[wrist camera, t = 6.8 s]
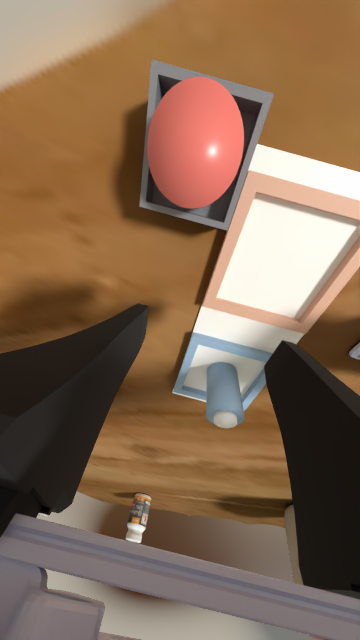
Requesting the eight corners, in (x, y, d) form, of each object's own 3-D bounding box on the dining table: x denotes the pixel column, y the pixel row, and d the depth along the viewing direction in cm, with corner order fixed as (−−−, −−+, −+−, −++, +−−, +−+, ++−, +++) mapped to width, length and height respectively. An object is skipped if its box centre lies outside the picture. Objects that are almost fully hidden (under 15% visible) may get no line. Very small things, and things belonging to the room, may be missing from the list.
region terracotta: (392, 212, 13) (402, 212, 12) (302, 329, 19) (305, 334, 18) (247, 171, 13) (249, 169, 12) (202, 302, 19) (202, 306, 18)
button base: (260, 118, 12) (274, 93, 9) (224, 226, 15) (227, 230, 13) (164, 91, 11) (151, 59, 9) (151, 206, 15) (139, 206, 12)
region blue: (282, 355, 21) (284, 360, 21) (243, 405, 27) (244, 410, 27) (192, 331, 21) (192, 335, 20) (174, 387, 27) (173, 391, 27)
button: (253, 112, 10) (262, 93, 8) (221, 216, 12) (223, 218, 11) (163, 87, 10) (154, 62, 8) (151, 197, 12) (142, 196, 11)
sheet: (417, 189, 12) (419, 188, 12) (242, 410, 28) (242, 411, 28) (256, 144, 12) (256, 143, 12) (172, 392, 28) (172, 393, 28)
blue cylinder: (239, 363, 23) (248, 413, 17) (234, 383, 25) (242, 434, 19) (207, 360, 23) (207, 408, 18) (206, 381, 25) (205, 429, 20)
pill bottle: (143, 492, 59) (133, 538, 51) (154, 498, 61) (146, 544, 53) (132, 492, 61) (119, 537, 53) (143, 498, 63) (133, 542, 55)
